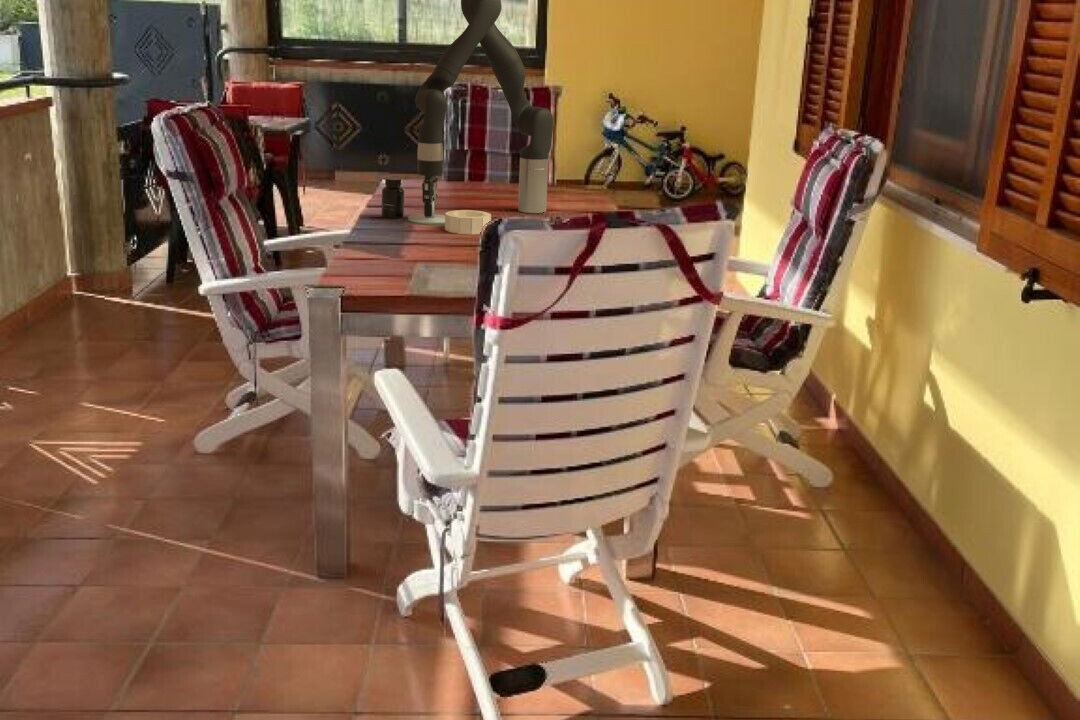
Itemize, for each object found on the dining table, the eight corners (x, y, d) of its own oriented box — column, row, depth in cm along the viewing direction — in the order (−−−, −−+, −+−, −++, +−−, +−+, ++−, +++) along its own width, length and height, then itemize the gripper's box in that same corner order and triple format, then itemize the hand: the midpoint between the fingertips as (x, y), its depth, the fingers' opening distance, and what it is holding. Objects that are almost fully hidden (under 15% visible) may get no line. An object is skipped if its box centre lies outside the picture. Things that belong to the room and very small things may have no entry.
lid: (412, 216, 324) (412, 196, 322) (454, 218, 324) (454, 198, 322) (404, 223, 312) (404, 203, 310) (448, 225, 311) (448, 205, 309)
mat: (410, 217, 325) (410, 215, 325) (455, 219, 324) (455, 218, 324) (402, 225, 311) (402, 223, 311) (449, 227, 311) (449, 226, 311)
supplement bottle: (383, 220, 318) (382, 180, 314) (380, 216, 324) (380, 176, 321) (405, 219, 320) (405, 180, 316) (402, 215, 326) (402, 177, 323)
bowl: (448, 225, 313) (449, 209, 312) (492, 228, 313) (492, 211, 311) (442, 234, 301) (442, 216, 299) (487, 236, 300) (488, 219, 299)
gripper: (439, 161, 305) (438, 219, 310) (446, 156, 319) (445, 211, 324) (413, 160, 305) (413, 218, 310) (421, 154, 319) (421, 210, 324)
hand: (429, 214), depth 317 cm, fingers open, 5 cm apart
